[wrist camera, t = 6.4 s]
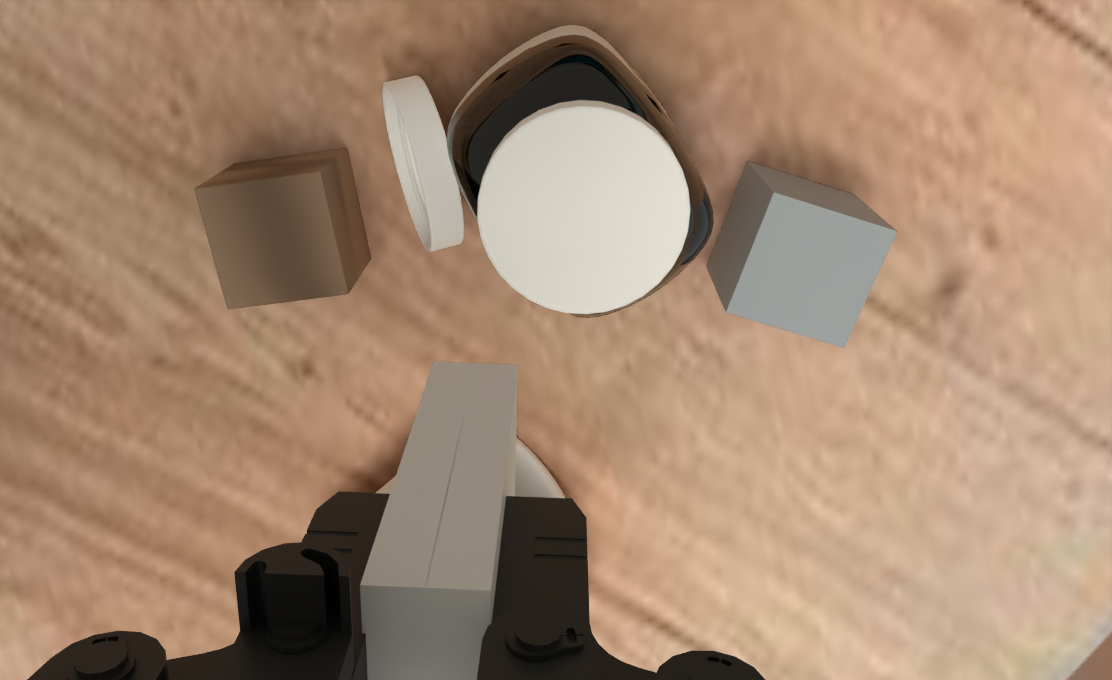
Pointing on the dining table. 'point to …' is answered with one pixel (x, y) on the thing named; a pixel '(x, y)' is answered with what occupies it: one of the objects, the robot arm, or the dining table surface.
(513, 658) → the robot arm
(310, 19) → the dining table surface
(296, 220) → the walnut block
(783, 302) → the slate block
